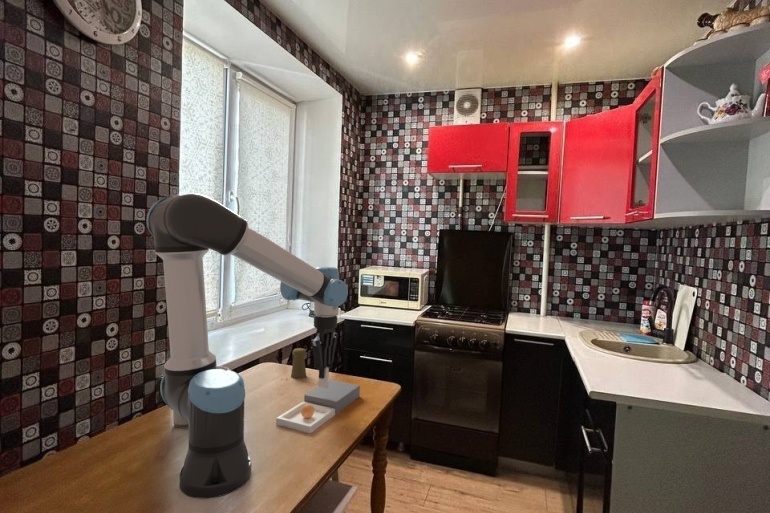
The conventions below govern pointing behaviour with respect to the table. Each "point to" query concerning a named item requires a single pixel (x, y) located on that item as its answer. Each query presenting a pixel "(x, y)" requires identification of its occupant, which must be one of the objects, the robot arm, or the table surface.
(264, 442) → the table surface
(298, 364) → the cork
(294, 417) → the tray
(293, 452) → the table surface
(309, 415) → the ball
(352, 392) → the deck
